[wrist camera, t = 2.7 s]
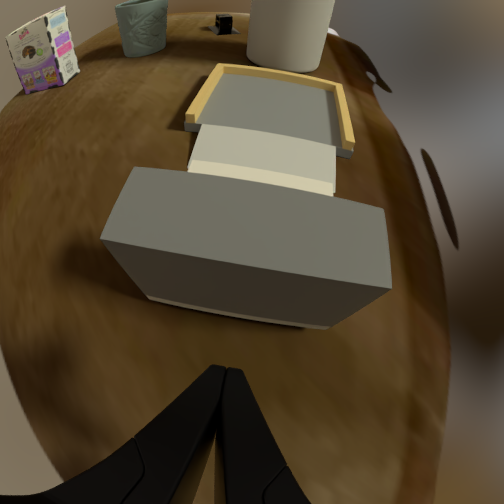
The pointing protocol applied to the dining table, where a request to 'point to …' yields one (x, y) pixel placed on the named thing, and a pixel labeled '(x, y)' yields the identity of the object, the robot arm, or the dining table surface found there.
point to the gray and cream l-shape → (249, 244)
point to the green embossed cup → (142, 26)
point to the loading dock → (271, 121)
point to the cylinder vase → (288, 33)
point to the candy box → (44, 52)
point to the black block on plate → (223, 25)
